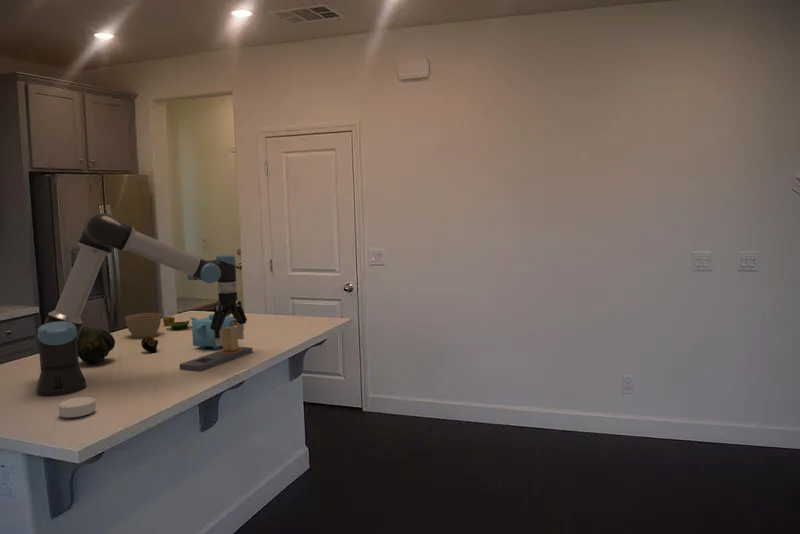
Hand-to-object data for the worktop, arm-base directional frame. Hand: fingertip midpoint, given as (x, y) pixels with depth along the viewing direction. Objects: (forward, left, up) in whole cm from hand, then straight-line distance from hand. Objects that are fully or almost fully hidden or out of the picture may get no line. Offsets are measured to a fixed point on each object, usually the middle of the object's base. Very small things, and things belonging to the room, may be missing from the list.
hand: (230, 342), depth 253 cm
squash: (-27, +46, -6) cm, 54 cm away
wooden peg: (0, 0, -6) cm, 6 cm away
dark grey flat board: (-8, 0, -6) cm, 10 cm away
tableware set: (+49, +59, -6) cm, 78 cm away
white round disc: (-74, -2, -6) cm, 74 cm away
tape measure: (-5, +39, -6) cm, 40 cm away
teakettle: (+13, +19, -6) cm, 24 cm away
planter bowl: (+18, +67, -6) cm, 70 cm away
